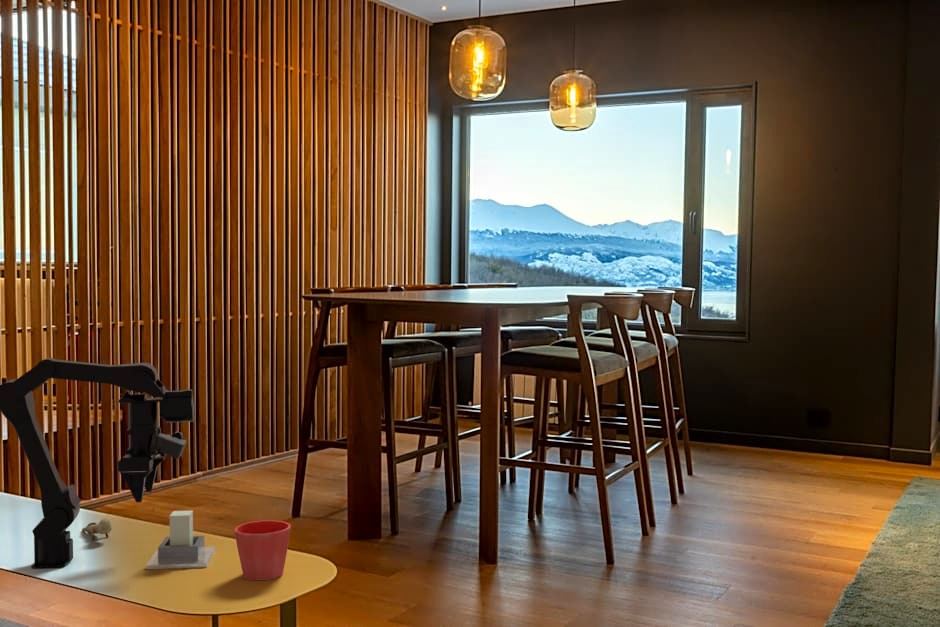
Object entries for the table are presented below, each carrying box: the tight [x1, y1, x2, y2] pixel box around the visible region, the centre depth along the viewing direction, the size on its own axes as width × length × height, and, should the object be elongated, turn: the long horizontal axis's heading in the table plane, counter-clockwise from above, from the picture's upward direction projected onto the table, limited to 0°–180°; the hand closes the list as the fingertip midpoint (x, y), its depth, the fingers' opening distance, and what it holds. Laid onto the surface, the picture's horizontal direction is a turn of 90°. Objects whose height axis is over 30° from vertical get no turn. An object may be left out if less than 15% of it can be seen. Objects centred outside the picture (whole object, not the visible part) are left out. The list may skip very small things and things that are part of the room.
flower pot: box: [234, 519, 292, 581], centre depth 185 cm, size 11×11×10 cm
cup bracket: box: [145, 535, 217, 570], centre depth 195 cm, size 12×12×4 cm
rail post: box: [169, 510, 194, 546], centre depth 195 cm, size 4×4×9 cm
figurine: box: [81, 517, 113, 541], centre depth 212 cm, size 4×4×15 cm
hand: (144, 496), depth 196 cm, fingers open, 9 cm apart
